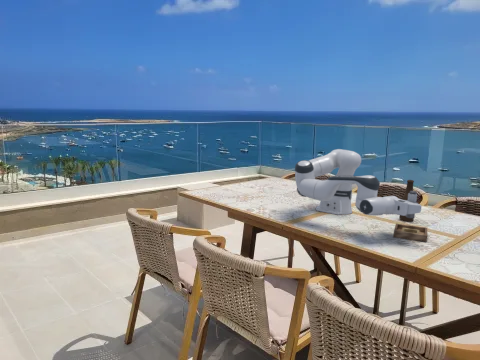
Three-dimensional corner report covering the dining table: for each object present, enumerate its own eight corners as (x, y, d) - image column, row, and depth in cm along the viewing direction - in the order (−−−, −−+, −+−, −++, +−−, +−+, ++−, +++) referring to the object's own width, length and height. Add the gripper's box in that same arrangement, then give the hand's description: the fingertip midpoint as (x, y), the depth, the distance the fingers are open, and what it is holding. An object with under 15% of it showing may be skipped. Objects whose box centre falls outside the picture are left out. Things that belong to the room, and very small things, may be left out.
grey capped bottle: (405, 217, 182) (408, 191, 179) (405, 215, 185) (408, 190, 183) (414, 218, 180) (417, 192, 178) (414, 216, 183) (417, 191, 181)
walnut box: (393, 237, 182) (393, 230, 181) (395, 229, 195) (395, 223, 194) (426, 242, 175) (427, 235, 175) (426, 233, 189) (427, 227, 188)
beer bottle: (412, 219, 216) (416, 179, 211) (414, 222, 208) (419, 181, 204) (398, 217, 218) (402, 178, 213) (400, 221, 210) (404, 180, 206)
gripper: (375, 206, 187) (396, 204, 192) (406, 216, 168) (429, 214, 173) (376, 194, 186) (397, 193, 191) (408, 203, 167) (430, 201, 172)
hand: (413, 203), depth 182 cm, fingers closed on grey capped bottle, 4 cm apart
